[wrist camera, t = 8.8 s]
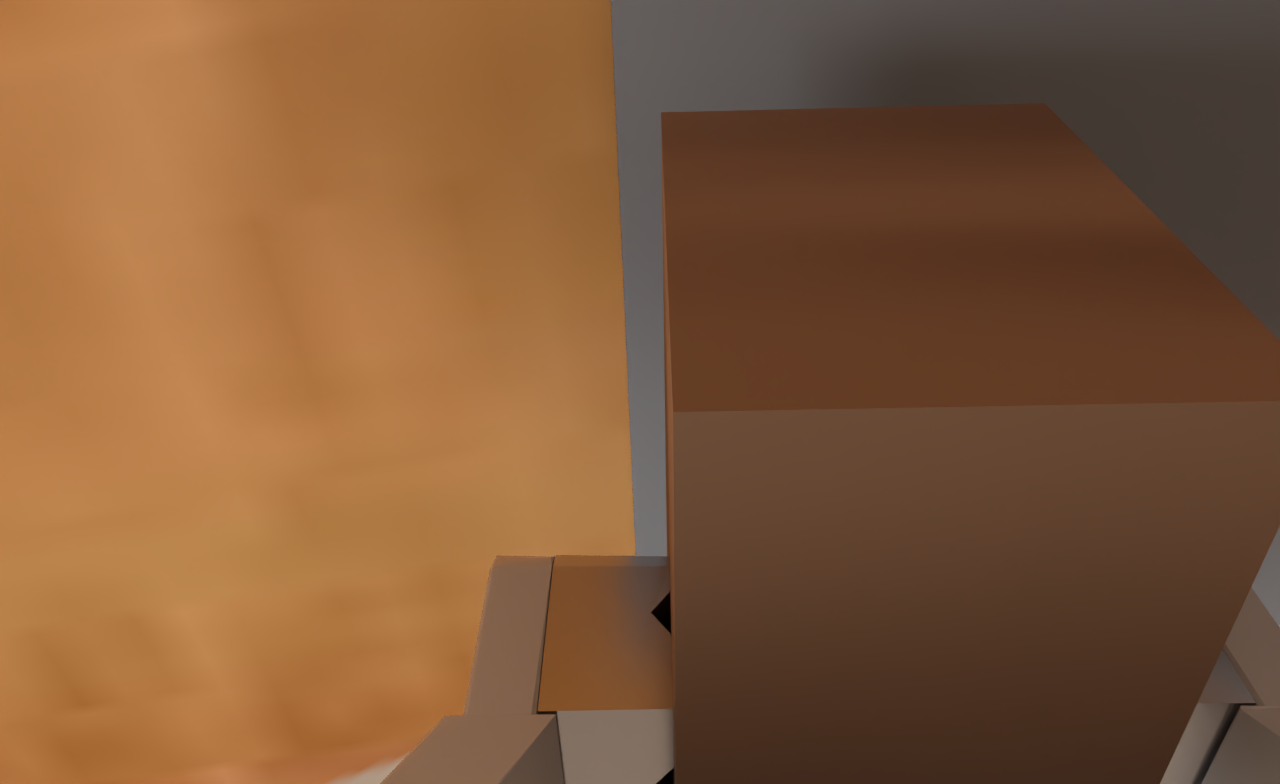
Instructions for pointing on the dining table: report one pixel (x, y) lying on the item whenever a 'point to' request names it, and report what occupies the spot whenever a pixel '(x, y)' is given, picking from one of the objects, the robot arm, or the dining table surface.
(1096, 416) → the block
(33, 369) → the dining table surface
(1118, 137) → the mat
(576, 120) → the dining table surface
